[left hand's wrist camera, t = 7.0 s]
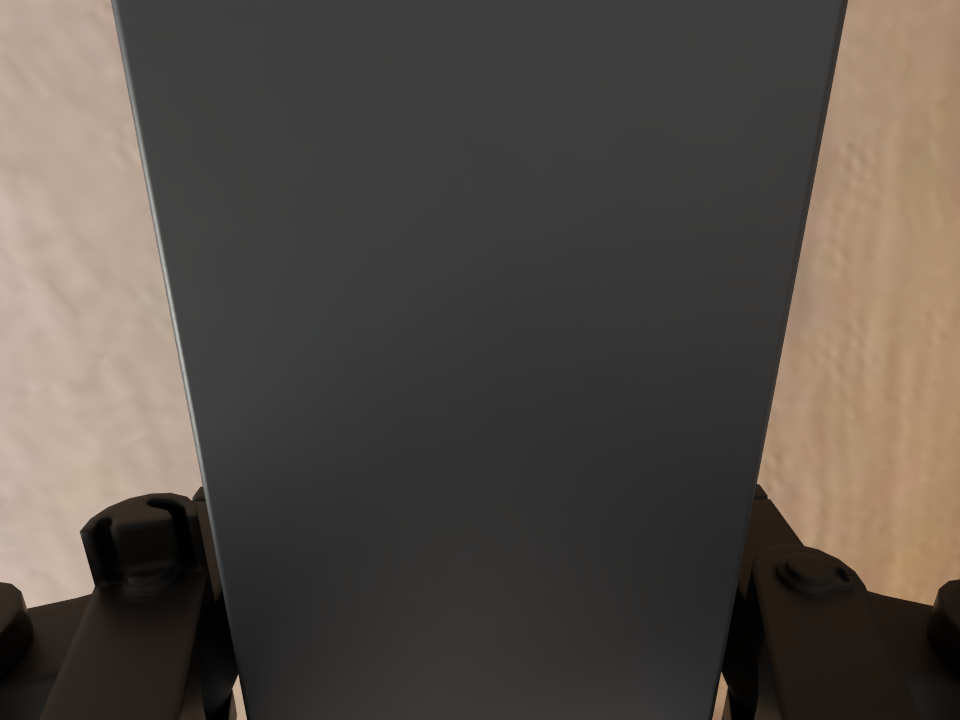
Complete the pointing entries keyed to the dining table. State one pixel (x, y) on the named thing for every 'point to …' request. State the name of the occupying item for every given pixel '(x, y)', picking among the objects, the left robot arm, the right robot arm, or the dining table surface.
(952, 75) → the dining table surface
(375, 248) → the bar
